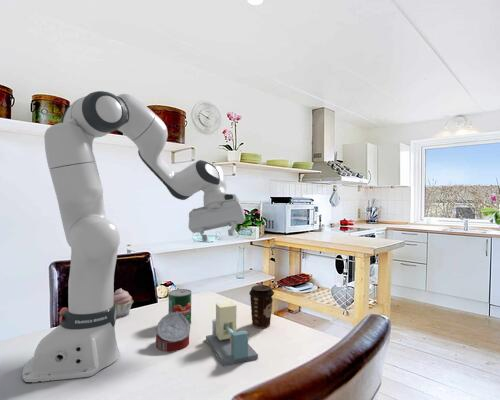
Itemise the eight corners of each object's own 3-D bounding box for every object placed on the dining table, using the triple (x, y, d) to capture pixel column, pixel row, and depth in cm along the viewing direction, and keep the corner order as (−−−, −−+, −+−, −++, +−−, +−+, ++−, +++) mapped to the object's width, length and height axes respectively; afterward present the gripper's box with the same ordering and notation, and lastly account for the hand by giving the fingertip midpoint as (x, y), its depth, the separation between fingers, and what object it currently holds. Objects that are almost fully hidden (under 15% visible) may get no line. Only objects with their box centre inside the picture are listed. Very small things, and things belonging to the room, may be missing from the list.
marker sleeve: (219, 340, 95) (219, 307, 95) (215, 334, 99) (215, 303, 98) (236, 337, 97) (236, 305, 97) (231, 332, 101) (231, 301, 101)
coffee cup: (274, 320, 116) (274, 284, 115) (273, 330, 107) (274, 291, 107) (250, 319, 116) (250, 284, 116) (247, 329, 108) (248, 290, 108)
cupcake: (132, 317, 118) (132, 290, 117) (104, 320, 115) (104, 292, 115) (134, 309, 127) (134, 284, 126) (109, 311, 124) (109, 285, 124)
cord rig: (223, 366, 84) (223, 337, 84) (205, 339, 100) (206, 315, 100) (257, 358, 88) (258, 331, 88) (236, 334, 104) (236, 311, 104)
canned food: (187, 354, 100) (202, 326, 100) (171, 366, 91) (188, 336, 90) (160, 332, 104) (174, 306, 103) (141, 342, 94) (157, 313, 94)
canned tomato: (180, 329, 107) (180, 297, 107) (163, 324, 111) (163, 293, 111) (196, 322, 114) (196, 291, 114) (179, 317, 118) (179, 287, 118)
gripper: (185, 205, 116) (185, 240, 108) (240, 193, 113) (244, 227, 106) (192, 214, 121) (192, 247, 114) (244, 202, 119) (248, 235, 111)
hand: (217, 237), depth 110 cm, fingers open, 8 cm apart
